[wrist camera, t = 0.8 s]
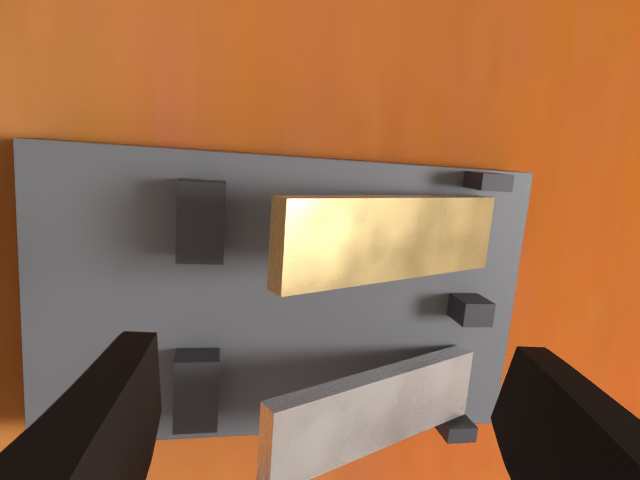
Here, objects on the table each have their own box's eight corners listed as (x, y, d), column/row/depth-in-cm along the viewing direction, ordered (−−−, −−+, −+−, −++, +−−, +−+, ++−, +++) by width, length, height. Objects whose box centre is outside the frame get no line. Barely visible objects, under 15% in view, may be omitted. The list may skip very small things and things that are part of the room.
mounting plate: (473, 400, 30) (513, 441, 26) (44, 417, 25) (10, 472, 21) (505, 170, 28) (556, 175, 24) (34, 138, 23) (-7, 138, 18)
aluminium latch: (457, 345, 26) (473, 352, 26) (449, 405, 27) (464, 414, 26) (260, 401, 19) (274, 413, 18) (256, 481, 20) (268, 496, 19)
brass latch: (477, 194, 25) (494, 197, 24) (468, 262, 25) (485, 267, 25) (271, 195, 18) (287, 198, 17) (266, 289, 18) (281, 297, 18)
